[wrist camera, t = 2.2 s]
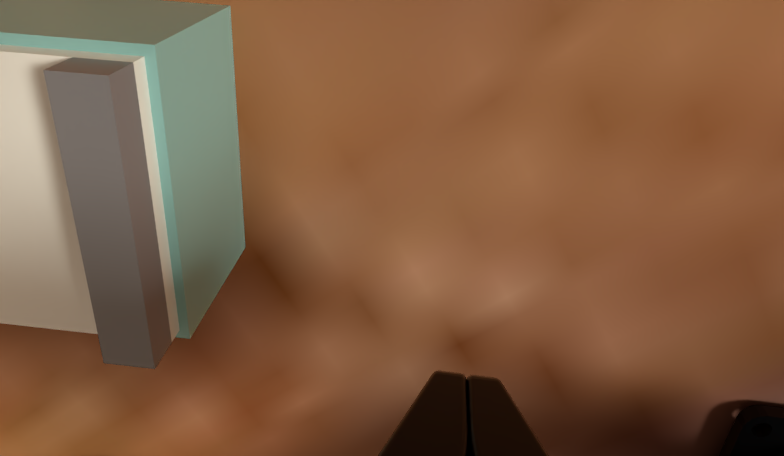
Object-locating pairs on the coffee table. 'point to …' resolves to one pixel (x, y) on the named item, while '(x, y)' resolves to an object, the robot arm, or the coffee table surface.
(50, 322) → the cabinet
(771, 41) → the coffee table surface
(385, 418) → the coffee table surface
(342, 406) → the coffee table surface
